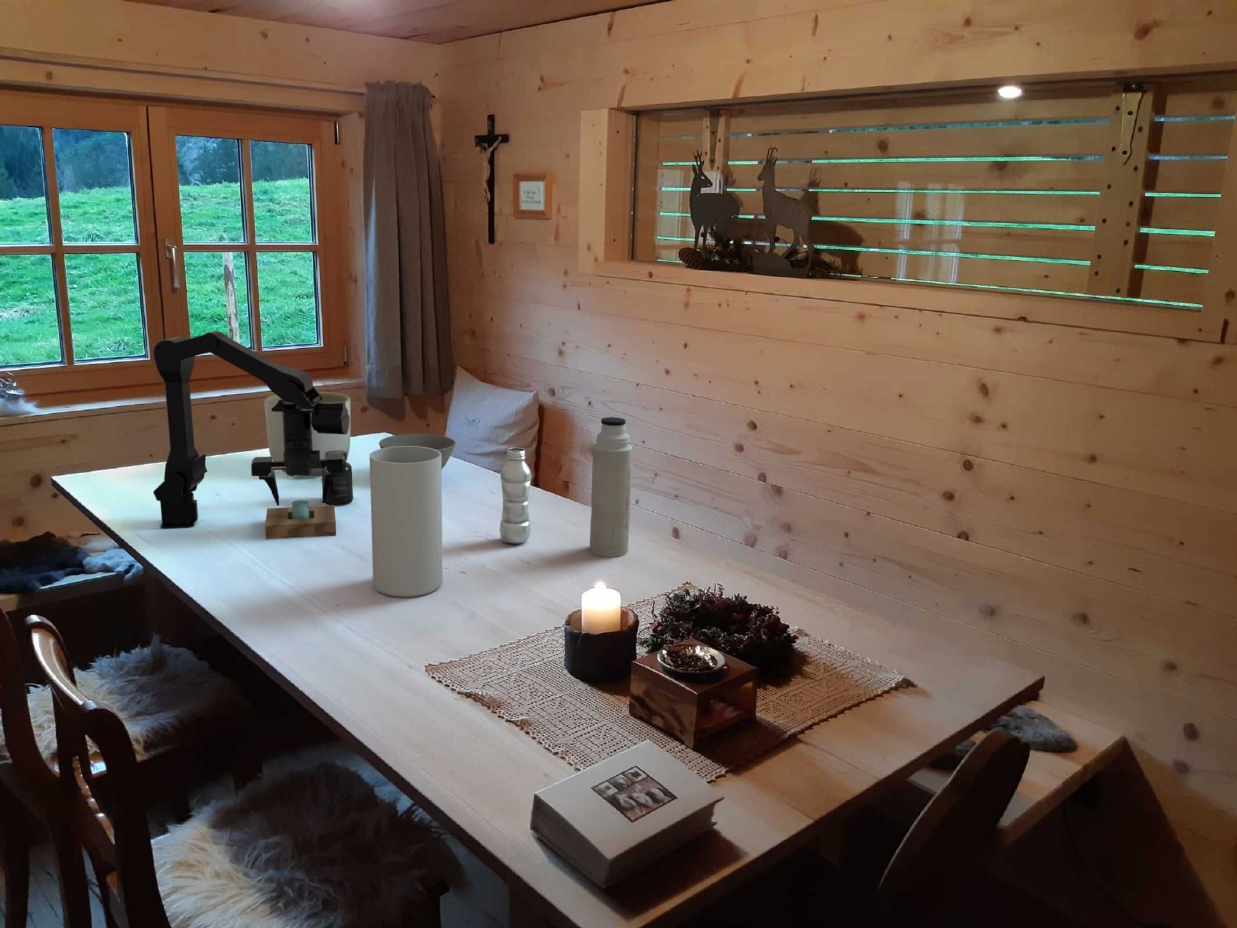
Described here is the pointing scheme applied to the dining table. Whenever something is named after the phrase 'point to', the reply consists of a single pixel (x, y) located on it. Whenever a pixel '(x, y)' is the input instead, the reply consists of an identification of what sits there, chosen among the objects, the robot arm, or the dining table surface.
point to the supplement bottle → (340, 484)
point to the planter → (318, 440)
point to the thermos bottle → (611, 489)
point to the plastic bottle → (515, 497)
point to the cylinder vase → (406, 520)
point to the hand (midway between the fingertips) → (301, 503)
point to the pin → (300, 509)
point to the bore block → (300, 523)
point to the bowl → (422, 443)
